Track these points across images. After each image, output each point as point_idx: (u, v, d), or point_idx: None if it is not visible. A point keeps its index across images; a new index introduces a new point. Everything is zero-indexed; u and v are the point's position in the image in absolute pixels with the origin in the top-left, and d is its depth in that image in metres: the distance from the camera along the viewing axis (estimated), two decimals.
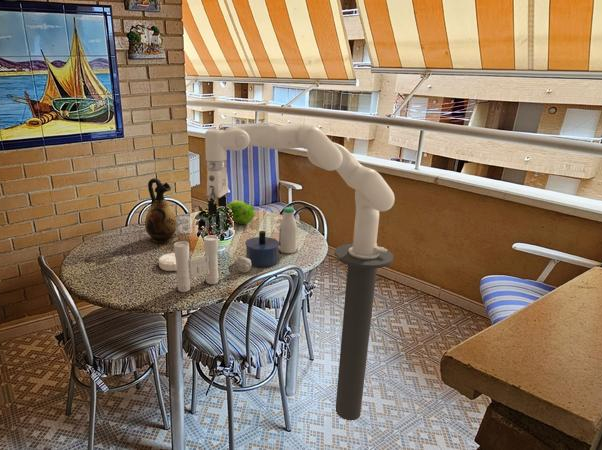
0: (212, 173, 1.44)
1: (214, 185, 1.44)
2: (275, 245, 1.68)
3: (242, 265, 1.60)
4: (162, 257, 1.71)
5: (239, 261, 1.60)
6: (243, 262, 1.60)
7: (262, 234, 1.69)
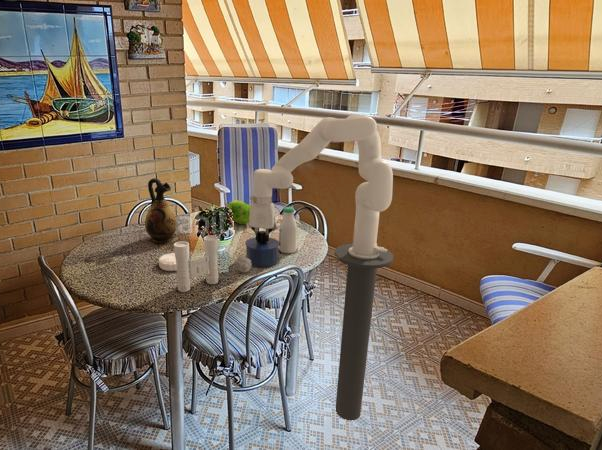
0: None
1: None
2: (275, 245, 1.68)
3: (242, 265, 1.60)
4: (162, 257, 1.71)
5: (239, 261, 1.60)
6: (243, 262, 1.60)
7: (262, 234, 1.69)
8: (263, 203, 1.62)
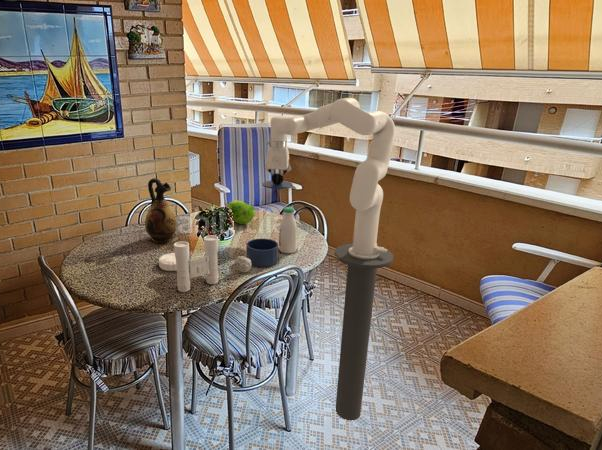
0: None
1: (267, 157, 1.91)
2: (289, 185, 1.92)
3: (242, 265, 1.60)
4: (162, 257, 1.71)
5: (239, 261, 1.60)
6: (243, 262, 1.60)
7: (277, 175, 1.92)
8: (279, 146, 1.85)
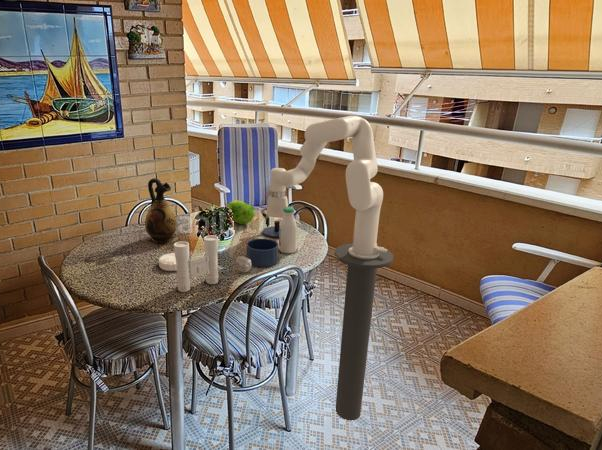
0: None
1: (267, 206, 2.00)
2: None
3: (242, 265, 1.60)
4: (162, 257, 1.71)
5: (239, 261, 1.60)
6: (243, 262, 1.60)
7: (277, 223, 2.01)
8: (278, 196, 1.94)
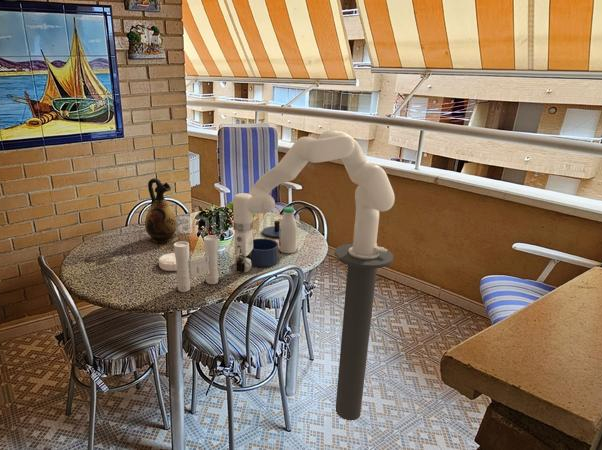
0: (240, 234, 1.54)
1: (241, 245, 1.54)
2: None
3: None
4: (162, 257, 1.71)
5: None
6: None
7: (277, 223, 2.01)
8: (252, 226, 1.57)
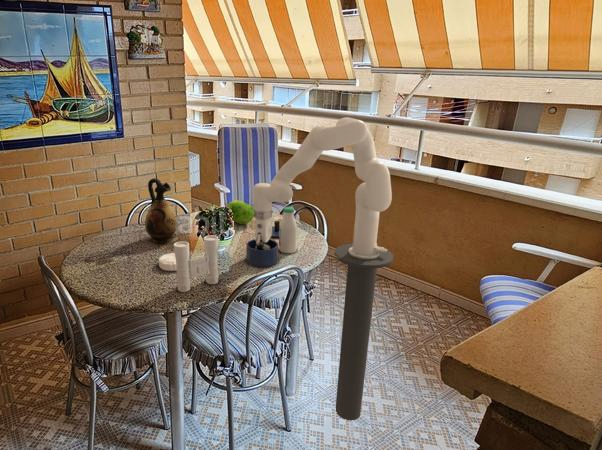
0: (260, 222, 1.63)
1: (262, 232, 1.64)
2: None
3: None
4: (162, 257, 1.71)
5: None
6: None
7: (277, 223, 2.01)
8: None
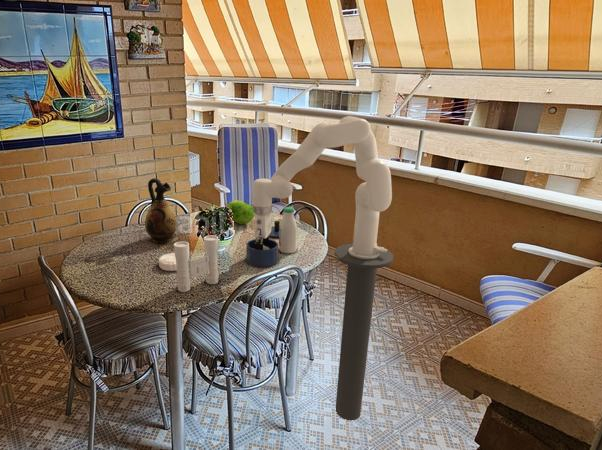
0: (260, 217, 1.63)
1: (261, 228, 1.64)
2: None
3: None
4: (162, 257, 1.71)
5: None
6: None
7: (277, 223, 2.01)
8: (271, 210, 1.66)
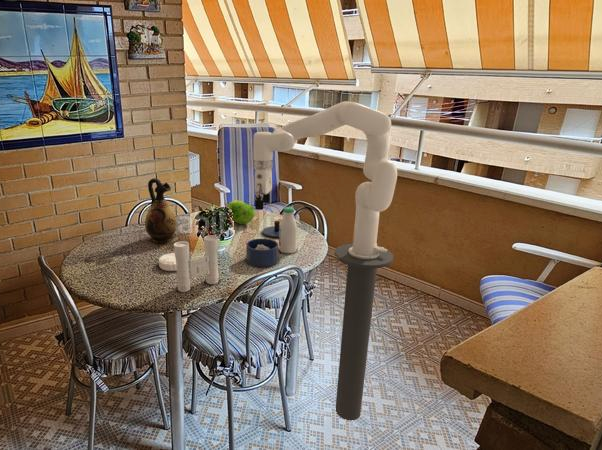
0: (260, 172, 1.57)
1: (262, 183, 1.57)
2: None
3: None
4: (162, 257, 1.71)
5: (259, 249, 1.69)
6: None
7: (277, 223, 2.01)
8: None
